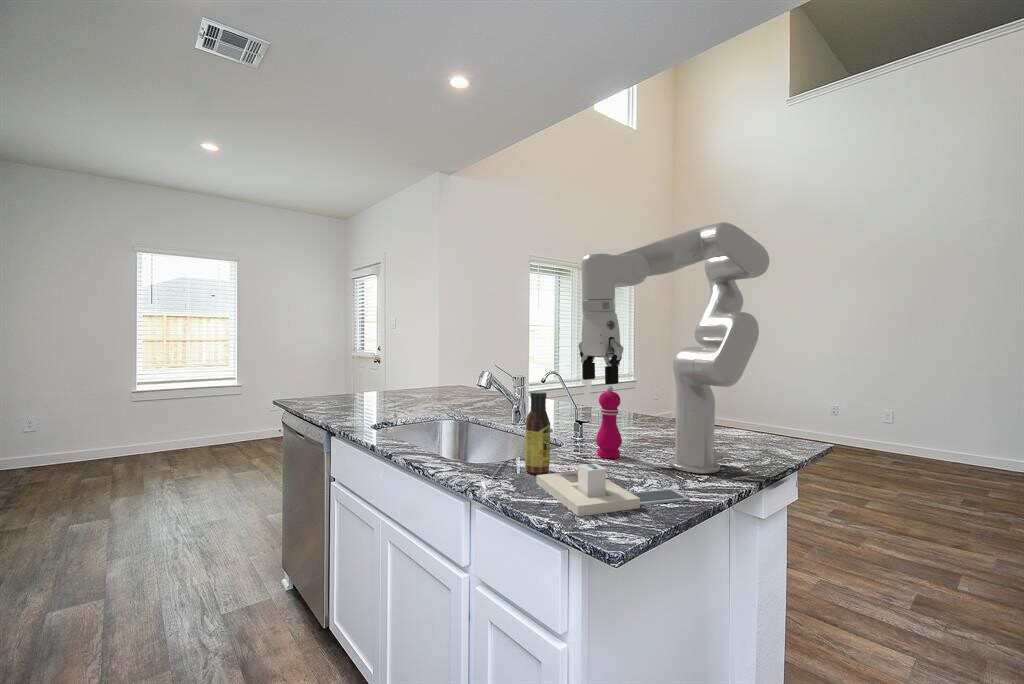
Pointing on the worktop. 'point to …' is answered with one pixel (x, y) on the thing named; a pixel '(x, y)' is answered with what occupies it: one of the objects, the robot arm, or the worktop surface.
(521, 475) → the worktop surface
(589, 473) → the plug
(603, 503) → the outlet plate
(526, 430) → the sauce bottle
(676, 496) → the plate
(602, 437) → the pepper mill
